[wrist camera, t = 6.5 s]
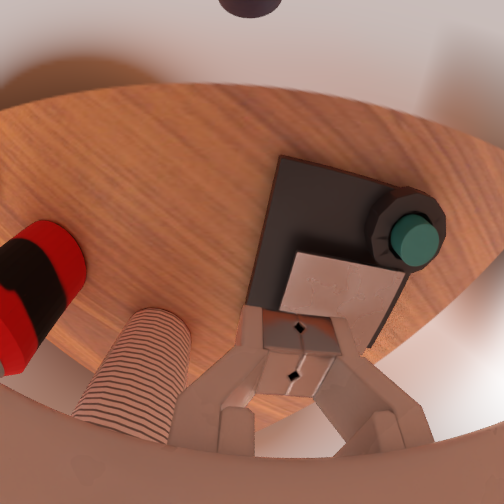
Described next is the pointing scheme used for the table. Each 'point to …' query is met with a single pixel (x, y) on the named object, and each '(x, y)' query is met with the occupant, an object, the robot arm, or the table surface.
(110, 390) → the cup
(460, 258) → the table surface
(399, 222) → the button
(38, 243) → the soda can
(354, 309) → the pan
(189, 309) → the table surface
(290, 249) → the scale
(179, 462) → the robot arm
